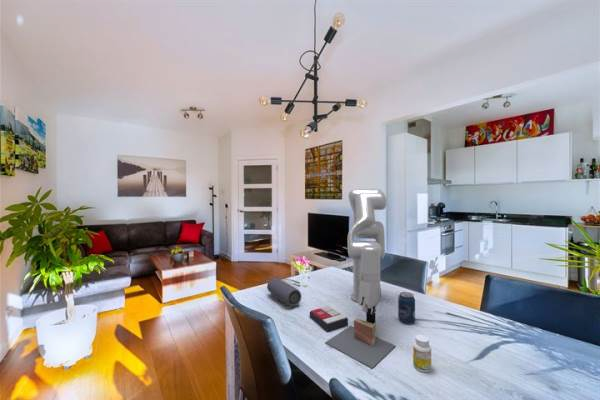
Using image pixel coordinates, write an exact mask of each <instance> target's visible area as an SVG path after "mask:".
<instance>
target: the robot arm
mask: <svg viewBox="0 0 600 400" xmlns="http://www.w3.org/2000/svg"><path fill="white" fill-rule="evenodd" d="M348 200H349V204H350V207H351V210H352V215H353V224H352V226H351V228H350V229H348V230H349V231H348V234H347V239H346V240H347V241H346V242H347V253H348V256H349V257H350V259H352V263H353V264H352V266H353V267H352V270H353V273H352V274H353V277H352V278H353V281H352V282H353V293H351V294H350V299H351V300H352V301H354V302H355V303H358V305H359V306H360V307H361V306H362V312H365V314H366V316H365V318H366V319H365V321H367V322H369V323H372V324H376V320H377V319H376V312H377V306H378V305H379V303H381V301H382V289H381V288H382V287H381V260H382V259H384V257H385V255H386V243H385V242H386V241H385V238H386V237H385V226H384V224H383V223H382V222H381V221H377V220H376V215H375V211H376V210H377V211H383V210H385V209H386V207H387V197H386V194H385V192H384V191H383V190H382V189H381V188H359V189H358V188H357V189H352V190H350V191H349V193H348ZM354 238H357V239H367V240H357V241H355V240H354ZM368 239H371V240H368ZM373 239H374V240H373ZM372 240H373V241H372Z"/></svg>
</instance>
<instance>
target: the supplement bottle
mask: <svg viewBox="0 0 600 400" xmlns="http://www.w3.org/2000/svg"><path fill="white" fill-rule="evenodd" d="M414 340H415V341H414V342H413V344H412V347H413V348H412V350H413V353H412V354H413V355H412V357H413V359H412V360H413V364H412V365H413V366H414V368H415V369H416V370H417V371H420V372H422V373H430V372H431V371H432V347H431V345H430V339H429V337H427V336H426V335H424V334H423V335H422V334H417V335H415V339H414Z"/></svg>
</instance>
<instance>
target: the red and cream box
mask: <svg viewBox="0 0 600 400" xmlns="http://www.w3.org/2000/svg"><path fill="white" fill-rule="evenodd" d="M309 319H311V321H313V322H314V323H316V324H317V325H319V326H320V327H321V329H323V330H324V331H326V333H331V332H334V331H337V330H340V329H343V328H347V327H349V318H348V317H347V316H346V315H344V314H342V313H341V312H340V311H337V310H336V309H334V308H332V307H330V306H328V305H327V306H323V307H319V308H315V309H312V310H310V311H309Z"/></svg>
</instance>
